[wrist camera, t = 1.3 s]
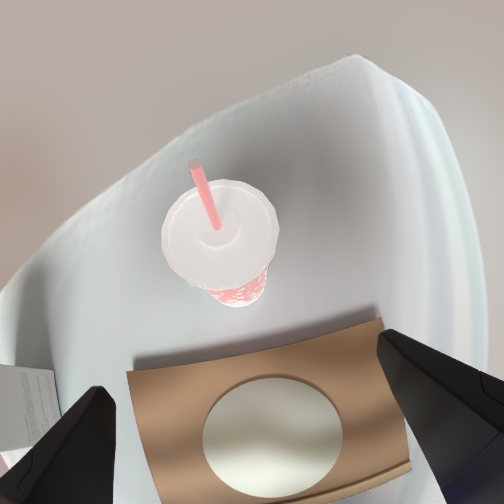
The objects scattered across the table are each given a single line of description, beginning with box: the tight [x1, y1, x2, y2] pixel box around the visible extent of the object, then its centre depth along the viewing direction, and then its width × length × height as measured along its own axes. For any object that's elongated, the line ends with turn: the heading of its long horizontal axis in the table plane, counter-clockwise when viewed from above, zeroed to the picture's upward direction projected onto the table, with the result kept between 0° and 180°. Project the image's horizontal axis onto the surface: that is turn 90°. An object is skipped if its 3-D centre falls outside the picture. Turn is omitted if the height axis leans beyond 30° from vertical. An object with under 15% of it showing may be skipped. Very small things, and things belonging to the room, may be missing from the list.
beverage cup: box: [161, 160, 280, 307], centre depth 16 cm, size 6×6×14 cm
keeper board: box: [126, 318, 412, 504], centre depth 17 cm, size 14×20×2 cm
